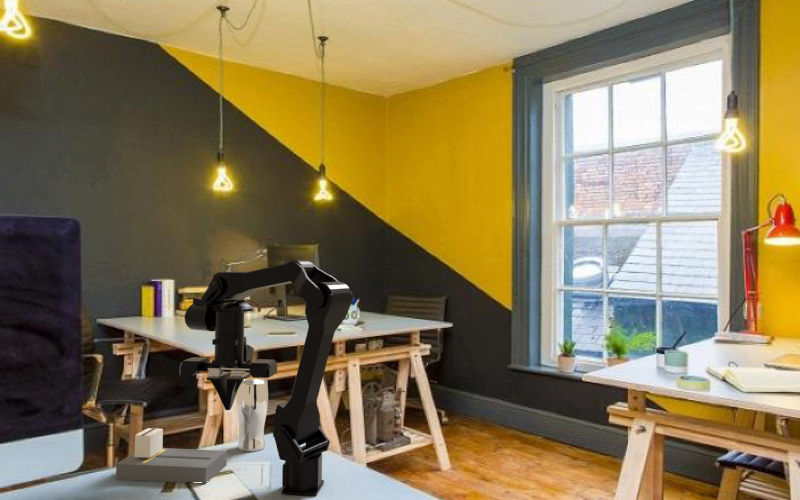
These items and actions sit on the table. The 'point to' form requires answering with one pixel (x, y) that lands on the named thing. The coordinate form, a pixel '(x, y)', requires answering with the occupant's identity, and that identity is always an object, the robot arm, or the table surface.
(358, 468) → the table surface
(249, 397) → the beer glass
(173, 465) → the fader console
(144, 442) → the fader tab
